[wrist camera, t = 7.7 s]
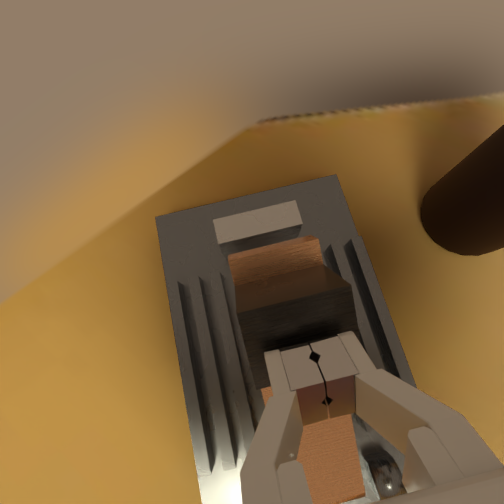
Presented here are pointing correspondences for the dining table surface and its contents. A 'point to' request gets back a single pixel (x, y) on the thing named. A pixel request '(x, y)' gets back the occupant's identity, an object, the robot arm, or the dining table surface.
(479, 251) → the bottle
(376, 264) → the dining table surface
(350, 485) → the brown and black bar
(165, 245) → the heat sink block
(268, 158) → the dining table surface
